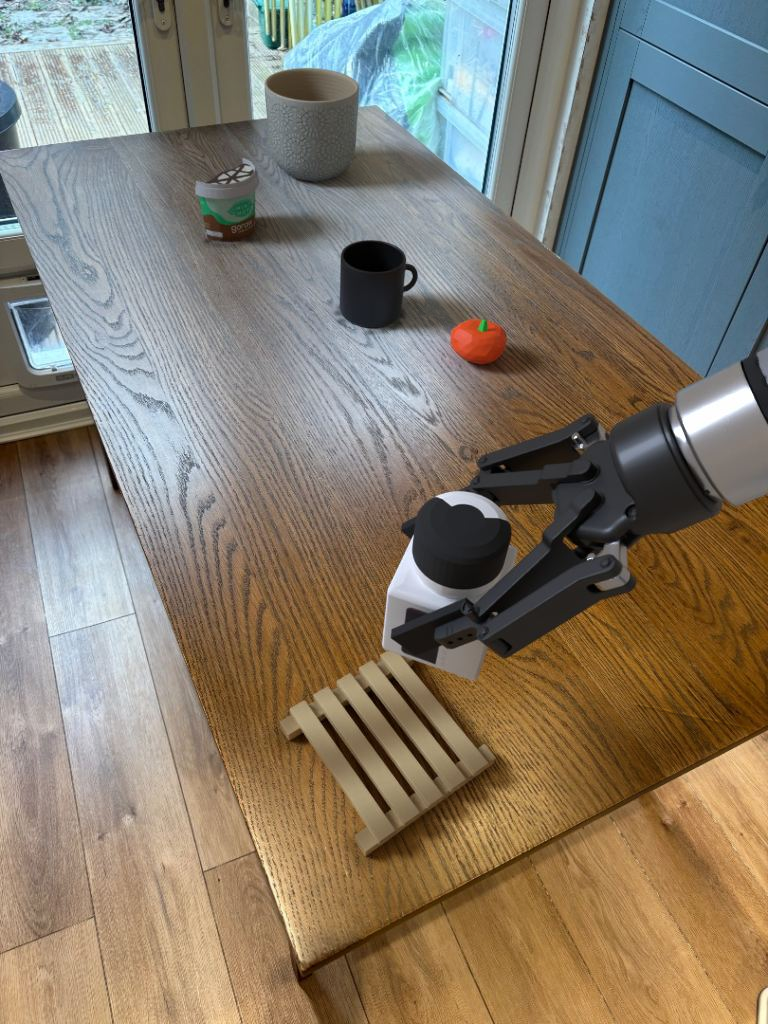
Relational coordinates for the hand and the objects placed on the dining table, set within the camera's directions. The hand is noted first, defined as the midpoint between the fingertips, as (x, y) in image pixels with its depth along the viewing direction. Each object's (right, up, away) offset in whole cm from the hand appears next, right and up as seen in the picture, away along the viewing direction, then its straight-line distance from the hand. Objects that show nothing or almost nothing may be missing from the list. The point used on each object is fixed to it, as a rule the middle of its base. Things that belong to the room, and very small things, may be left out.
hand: (408, 586), depth 56 cm
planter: (-16, +72, +90) cm, 116 cm away
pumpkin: (+11, +28, +52) cm, 60 cm away
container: (+3, -4, +4) cm, 6 cm away
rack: (-2, -15, +11) cm, 19 cm away
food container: (-26, +53, +72) cm, 93 cm away
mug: (-3, +36, +58) cm, 69 cm away
